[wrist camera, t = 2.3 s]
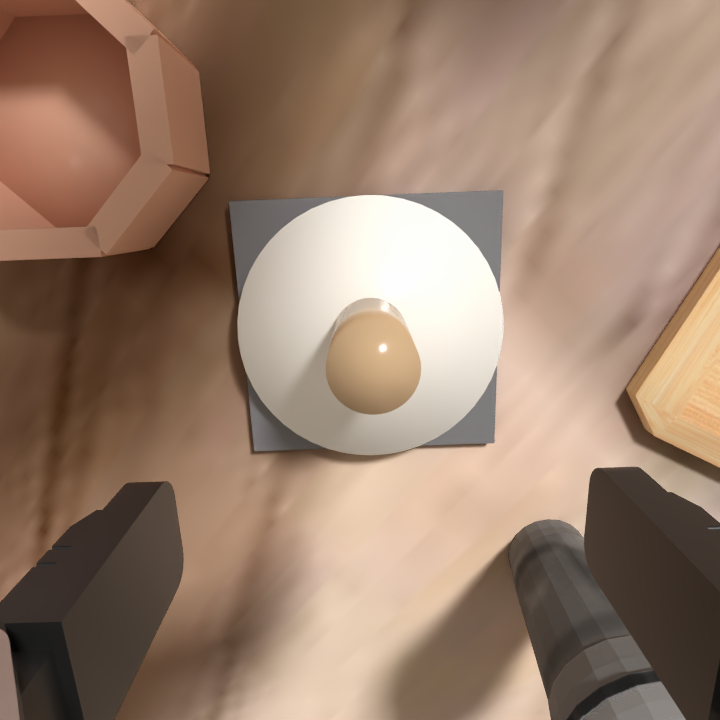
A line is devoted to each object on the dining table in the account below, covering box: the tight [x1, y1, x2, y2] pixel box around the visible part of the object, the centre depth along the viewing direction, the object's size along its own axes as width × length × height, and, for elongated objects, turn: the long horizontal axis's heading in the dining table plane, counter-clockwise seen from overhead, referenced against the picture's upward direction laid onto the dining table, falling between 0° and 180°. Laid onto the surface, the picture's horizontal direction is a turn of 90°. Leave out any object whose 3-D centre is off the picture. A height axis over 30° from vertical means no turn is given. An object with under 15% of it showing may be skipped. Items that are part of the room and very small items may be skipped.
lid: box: [237, 195, 504, 455], centre depth 23 cm, size 13×13×7 cm
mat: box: [229, 190, 503, 451], centre depth 26 cm, size 13×13×1 cm
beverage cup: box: [508, 520, 686, 720], centre depth 21 cm, size 7×7×20 cm
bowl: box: [0, 0, 210, 261], centre depth 22 cm, size 11×11×5 cm
